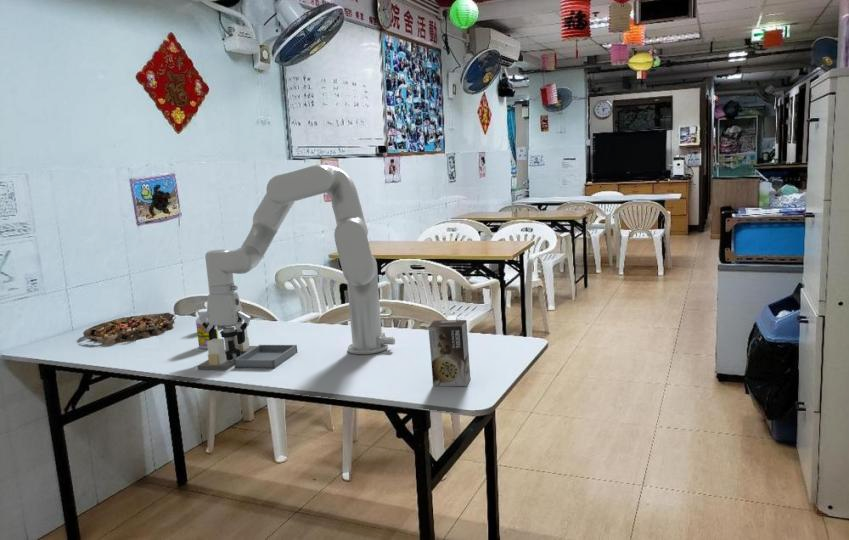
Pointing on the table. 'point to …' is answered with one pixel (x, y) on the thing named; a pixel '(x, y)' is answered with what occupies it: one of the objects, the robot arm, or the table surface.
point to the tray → (266, 356)
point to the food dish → (131, 328)
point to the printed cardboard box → (449, 353)
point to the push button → (230, 342)
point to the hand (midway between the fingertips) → (227, 342)
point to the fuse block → (222, 354)
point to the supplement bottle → (203, 330)
